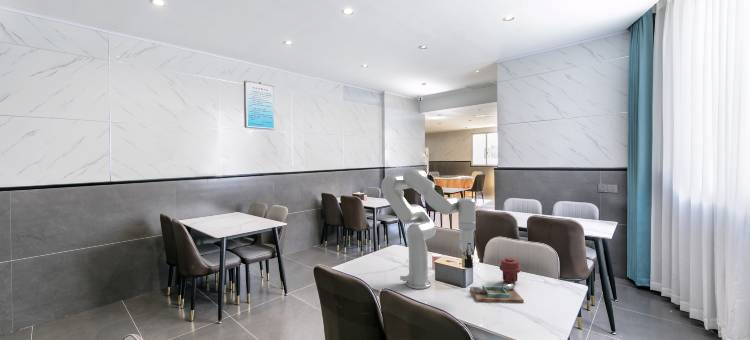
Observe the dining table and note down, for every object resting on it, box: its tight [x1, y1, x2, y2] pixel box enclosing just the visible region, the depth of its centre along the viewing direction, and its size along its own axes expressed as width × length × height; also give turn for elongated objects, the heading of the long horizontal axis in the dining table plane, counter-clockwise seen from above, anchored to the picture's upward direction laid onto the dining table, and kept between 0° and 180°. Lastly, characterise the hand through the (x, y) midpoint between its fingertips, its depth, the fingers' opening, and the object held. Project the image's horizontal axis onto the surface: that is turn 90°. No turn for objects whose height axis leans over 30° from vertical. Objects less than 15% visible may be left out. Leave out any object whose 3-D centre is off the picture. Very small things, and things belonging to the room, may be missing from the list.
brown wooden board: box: [470, 285, 525, 304], centre depth 149 cm, size 20×14×4 cm
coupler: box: [461, 252, 474, 269], centre depth 146 cm, size 5×5×6 cm
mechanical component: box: [499, 257, 522, 285], centre depth 165 cm, size 12×10×10 cm
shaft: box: [501, 283, 515, 292], centre depth 152 cm, size 5×4×4 cm
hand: (467, 265), depth 146 cm, fingers closed on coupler, 4 cm apart
